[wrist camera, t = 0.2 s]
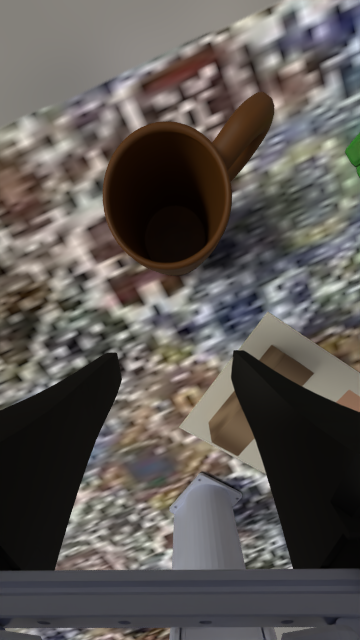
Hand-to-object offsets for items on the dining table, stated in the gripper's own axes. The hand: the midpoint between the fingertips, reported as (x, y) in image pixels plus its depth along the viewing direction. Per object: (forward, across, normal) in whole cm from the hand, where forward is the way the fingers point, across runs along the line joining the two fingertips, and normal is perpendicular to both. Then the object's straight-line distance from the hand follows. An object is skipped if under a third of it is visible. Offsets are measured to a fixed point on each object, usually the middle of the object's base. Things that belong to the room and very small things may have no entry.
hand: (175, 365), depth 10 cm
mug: (+12, -2, -9) cm, 15 cm away
